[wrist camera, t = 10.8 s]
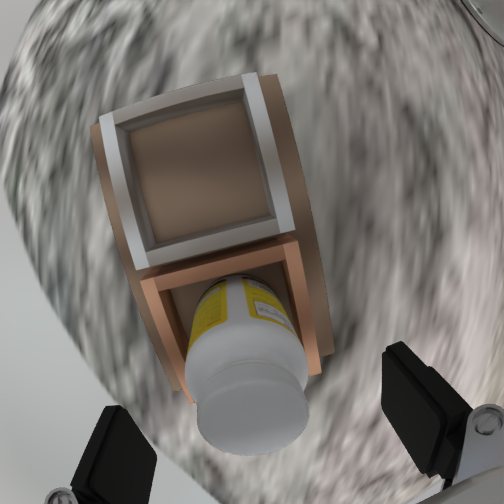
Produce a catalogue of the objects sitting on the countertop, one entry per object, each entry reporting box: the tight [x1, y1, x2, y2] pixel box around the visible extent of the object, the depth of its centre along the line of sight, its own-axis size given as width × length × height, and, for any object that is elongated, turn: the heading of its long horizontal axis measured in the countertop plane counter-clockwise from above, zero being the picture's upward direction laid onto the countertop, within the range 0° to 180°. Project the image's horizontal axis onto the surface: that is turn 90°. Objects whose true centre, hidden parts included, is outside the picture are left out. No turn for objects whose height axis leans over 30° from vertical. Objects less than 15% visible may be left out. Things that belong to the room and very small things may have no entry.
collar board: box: [90, 72, 335, 403], centre depth 17 cm, size 19×12×4 cm, turn 13°
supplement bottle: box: [185, 275, 309, 456], centre depth 14 cm, size 5×5×10 cm
